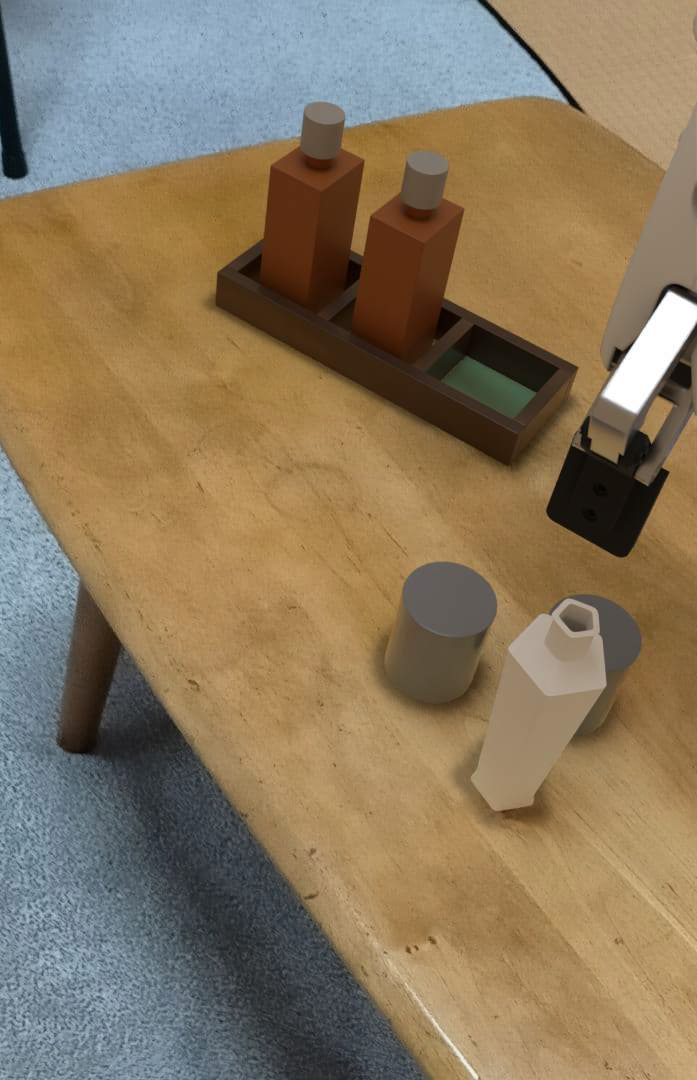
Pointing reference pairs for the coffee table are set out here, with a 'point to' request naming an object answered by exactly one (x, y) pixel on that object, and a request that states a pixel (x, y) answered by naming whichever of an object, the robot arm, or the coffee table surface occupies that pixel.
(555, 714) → the perfume bottle
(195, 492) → the coffee table surface
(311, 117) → the amber bottle
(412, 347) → the amber bottle
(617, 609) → the grey jar
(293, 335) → the rack
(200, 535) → the coffee table surface
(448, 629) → the grey upright cylinder
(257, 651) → the coffee table surface
